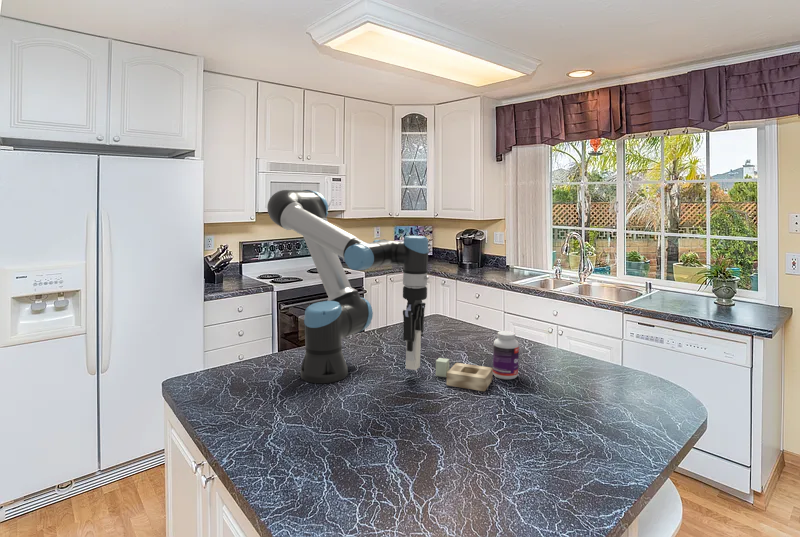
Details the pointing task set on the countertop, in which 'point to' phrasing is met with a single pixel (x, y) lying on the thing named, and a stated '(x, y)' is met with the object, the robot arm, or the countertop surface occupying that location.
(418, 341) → the long peg
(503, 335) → the pill bottle
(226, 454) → the countertop surface
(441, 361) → the short peg
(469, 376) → the hole block
